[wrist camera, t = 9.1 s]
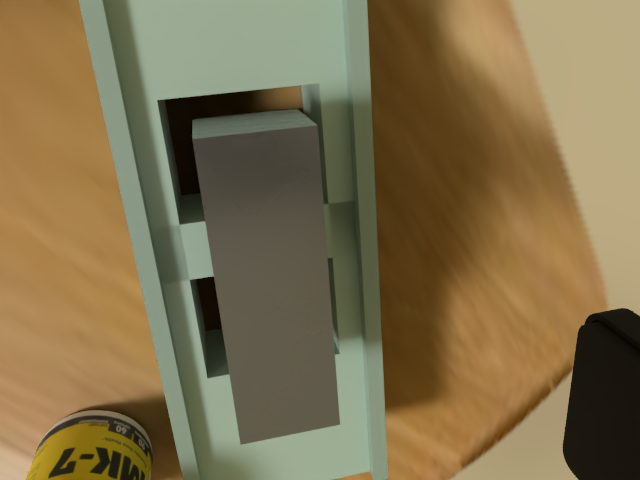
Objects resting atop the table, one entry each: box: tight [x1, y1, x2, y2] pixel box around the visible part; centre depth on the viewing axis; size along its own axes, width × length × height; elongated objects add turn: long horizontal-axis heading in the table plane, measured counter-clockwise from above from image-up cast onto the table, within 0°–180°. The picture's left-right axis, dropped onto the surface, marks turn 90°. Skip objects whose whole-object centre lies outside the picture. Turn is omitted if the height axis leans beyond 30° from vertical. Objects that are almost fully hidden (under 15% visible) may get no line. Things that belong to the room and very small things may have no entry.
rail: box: [79, 0, 388, 480], centre depth 21 cm, size 22×8×4 cm, turn 5°
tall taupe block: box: [192, 109, 340, 445], centre depth 19 cm, size 9×3×8 cm, turn 5°
